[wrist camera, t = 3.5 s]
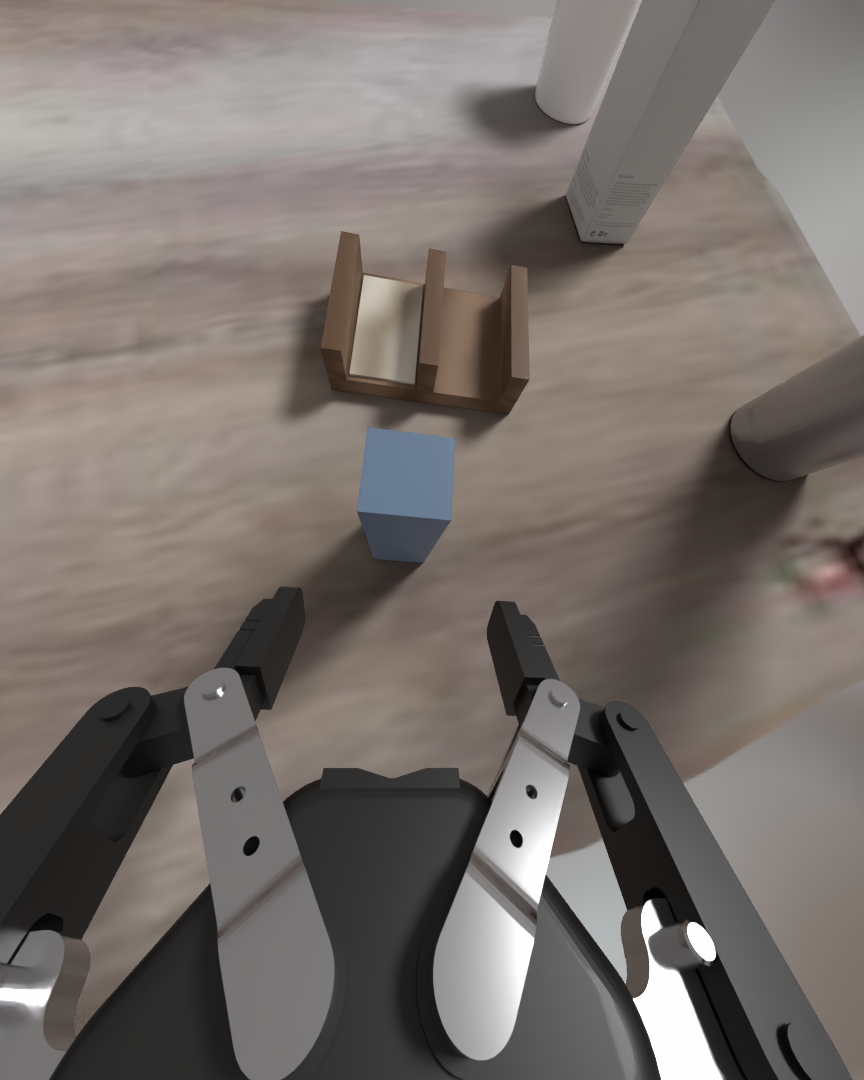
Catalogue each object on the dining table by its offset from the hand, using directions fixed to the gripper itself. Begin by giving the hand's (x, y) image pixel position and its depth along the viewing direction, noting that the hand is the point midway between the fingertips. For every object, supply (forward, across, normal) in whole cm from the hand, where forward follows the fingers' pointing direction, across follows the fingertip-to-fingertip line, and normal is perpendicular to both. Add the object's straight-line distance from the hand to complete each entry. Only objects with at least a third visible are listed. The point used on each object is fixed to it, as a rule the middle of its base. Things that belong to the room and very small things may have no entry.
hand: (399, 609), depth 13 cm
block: (+12, 0, +4) cm, 13 cm away
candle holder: (+57, -17, -40) cm, 72 cm away
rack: (+26, -1, -10) cm, 27 cm away
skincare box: (+42, -20, -26) cm, 53 cm away
